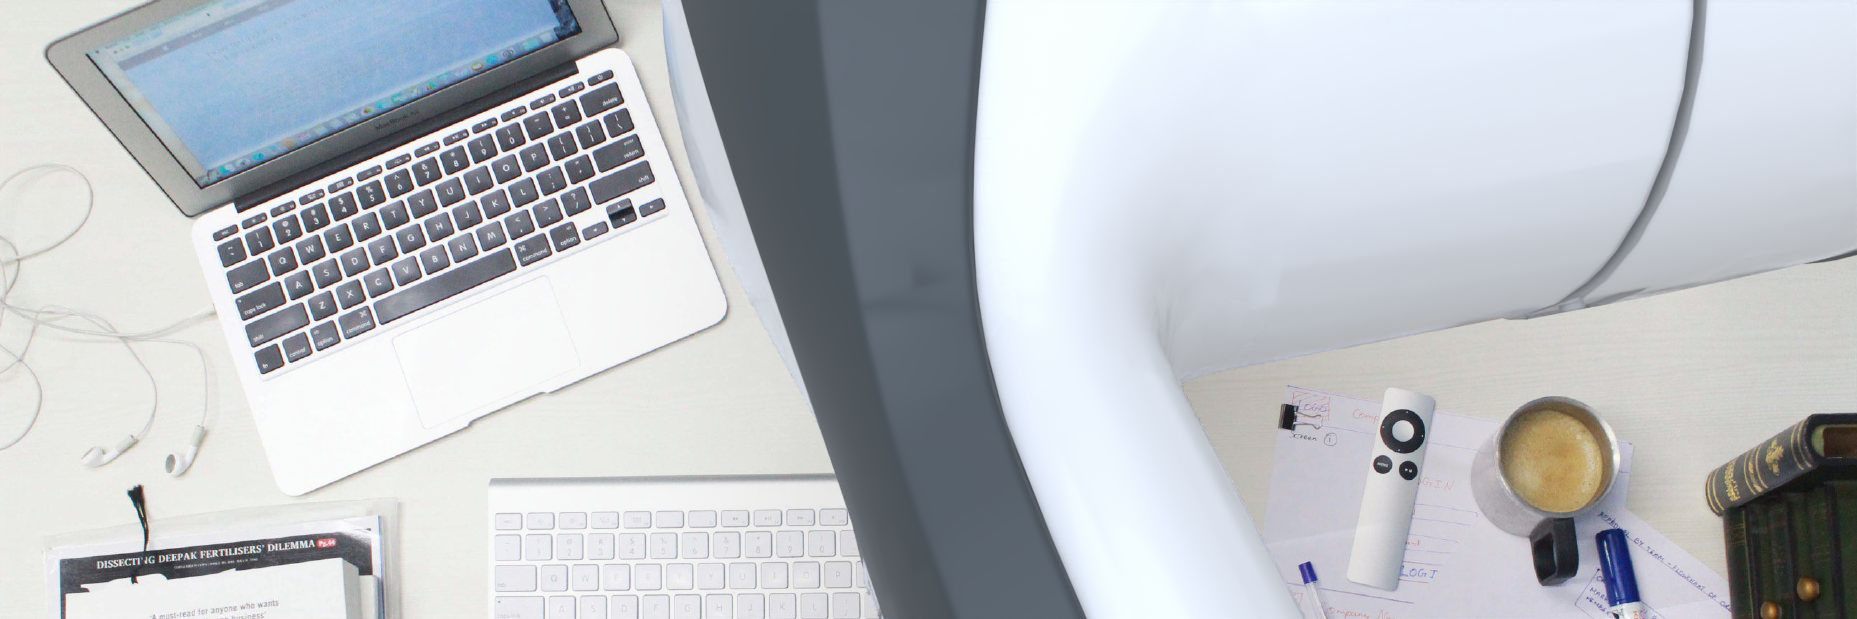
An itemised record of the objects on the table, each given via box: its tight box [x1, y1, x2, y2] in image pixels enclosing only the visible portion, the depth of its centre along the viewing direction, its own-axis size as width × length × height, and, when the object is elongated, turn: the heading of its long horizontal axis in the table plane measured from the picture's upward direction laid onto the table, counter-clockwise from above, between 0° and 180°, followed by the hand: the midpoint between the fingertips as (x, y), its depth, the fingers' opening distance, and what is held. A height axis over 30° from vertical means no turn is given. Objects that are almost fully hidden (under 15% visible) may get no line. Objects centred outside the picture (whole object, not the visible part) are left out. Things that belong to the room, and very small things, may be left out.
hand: (1144, 69), depth 39 cm, fingers open, 8 cm apart
